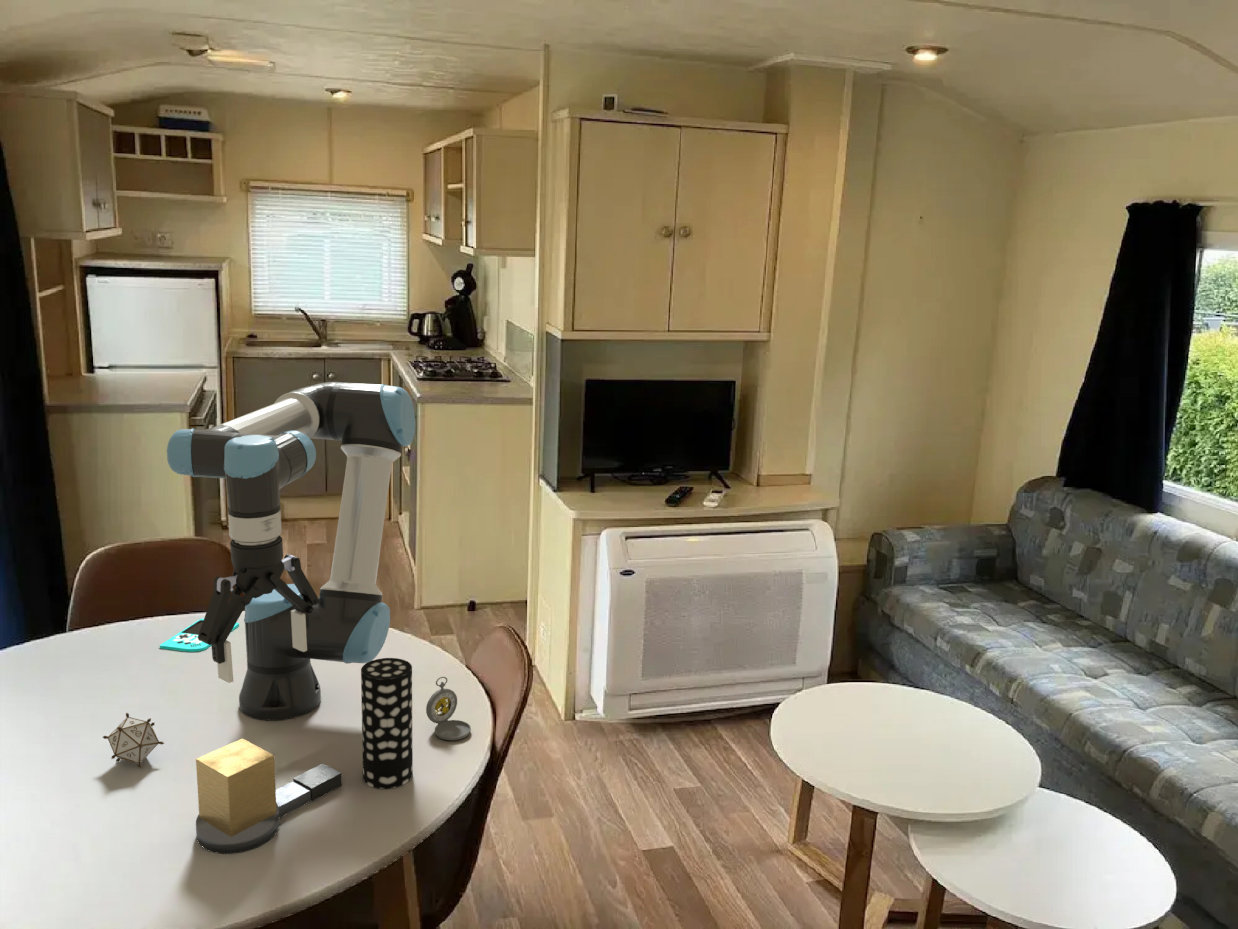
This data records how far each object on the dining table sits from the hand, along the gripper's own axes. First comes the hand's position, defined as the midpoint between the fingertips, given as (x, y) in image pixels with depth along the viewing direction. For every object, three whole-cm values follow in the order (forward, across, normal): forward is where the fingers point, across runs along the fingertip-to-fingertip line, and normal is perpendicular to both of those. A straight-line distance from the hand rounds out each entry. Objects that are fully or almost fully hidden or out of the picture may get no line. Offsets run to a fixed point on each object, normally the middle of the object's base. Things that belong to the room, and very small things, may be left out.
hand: (264, 664), depth 157 cm
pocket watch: (+25, +34, -7) cm, 43 cm away
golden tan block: (+21, -9, -4) cm, 23 cm away
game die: (+24, -8, +27) cm, 37 cm away
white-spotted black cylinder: (+24, +16, -10) cm, 31 cm away
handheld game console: (+26, +29, +66) cm, 76 cm away
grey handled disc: (+23, -3, -4) cm, 24 cm away
